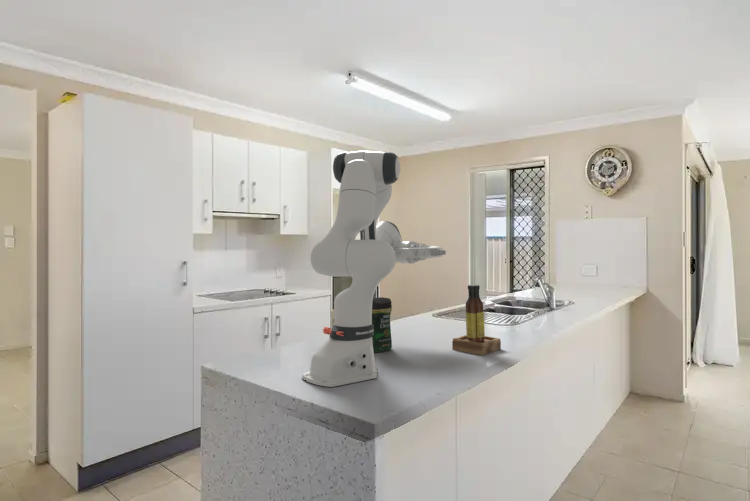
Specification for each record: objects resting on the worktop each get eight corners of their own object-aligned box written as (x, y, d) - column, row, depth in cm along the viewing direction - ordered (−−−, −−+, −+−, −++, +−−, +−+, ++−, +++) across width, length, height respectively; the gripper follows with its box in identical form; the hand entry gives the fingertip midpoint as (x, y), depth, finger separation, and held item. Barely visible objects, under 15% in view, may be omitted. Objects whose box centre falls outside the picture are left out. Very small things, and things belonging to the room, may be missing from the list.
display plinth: (481, 355, 154) (481, 344, 154) (452, 349, 163) (452, 338, 163) (500, 349, 162) (500, 338, 162) (471, 343, 171) (471, 333, 171)
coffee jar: (375, 354, 156) (375, 300, 156) (360, 350, 162) (360, 297, 162) (396, 349, 163) (395, 297, 162) (381, 346, 169) (380, 295, 168)
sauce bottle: (483, 339, 165) (483, 284, 164) (485, 343, 158) (485, 285, 158) (464, 339, 165) (464, 283, 165) (466, 343, 159) (466, 285, 159)
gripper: (390, 244, 173) (418, 244, 163) (425, 244, 187) (453, 244, 177) (390, 261, 173) (418, 262, 163) (425, 259, 187) (453, 260, 178)
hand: (437, 252), depth 170 cm, fingers open, 8 cm apart
